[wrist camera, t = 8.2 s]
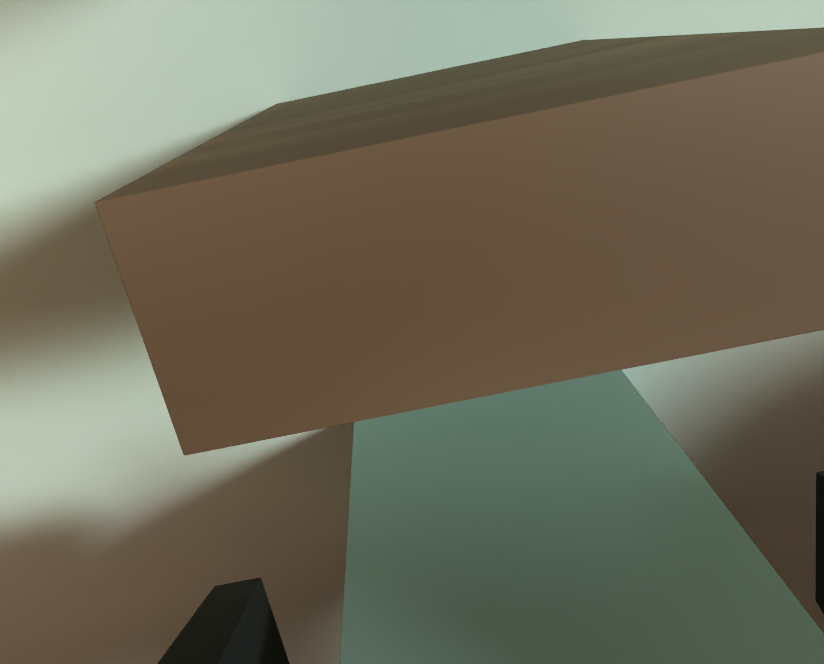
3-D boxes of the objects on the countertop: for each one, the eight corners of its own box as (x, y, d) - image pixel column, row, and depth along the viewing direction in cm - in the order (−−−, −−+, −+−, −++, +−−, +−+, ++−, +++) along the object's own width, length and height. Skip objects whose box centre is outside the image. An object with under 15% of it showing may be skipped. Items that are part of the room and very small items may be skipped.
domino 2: (354, 414, 13) (327, 868, 6) (615, 361, 13) (922, 761, 6) (372, 487, 14) (369, 987, 7) (623, 439, 14) (912, 891, 6)
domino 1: (277, 104, 11) (95, 202, 4) (582, 39, 11) (981, 19, 4) (302, 204, 12) (183, 454, 5) (593, 145, 12) (960, 302, 4)
